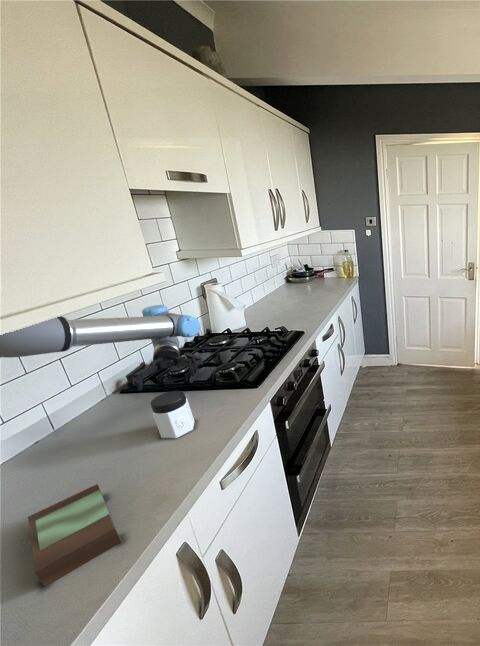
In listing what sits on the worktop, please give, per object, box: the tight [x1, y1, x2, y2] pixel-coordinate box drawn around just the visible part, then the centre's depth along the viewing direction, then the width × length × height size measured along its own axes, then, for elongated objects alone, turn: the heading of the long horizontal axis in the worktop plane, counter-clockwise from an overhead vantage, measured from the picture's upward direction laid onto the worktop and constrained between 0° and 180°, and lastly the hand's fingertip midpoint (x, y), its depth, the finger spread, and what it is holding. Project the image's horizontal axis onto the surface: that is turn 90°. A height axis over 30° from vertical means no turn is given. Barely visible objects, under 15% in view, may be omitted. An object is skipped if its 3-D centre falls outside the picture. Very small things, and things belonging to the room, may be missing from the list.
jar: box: [149, 390, 196, 439], centre depth 103 cm, size 9×8×12 cm
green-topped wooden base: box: [27, 483, 122, 588], centre depth 72 cm, size 18×11×5 cm, turn 50°
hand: (166, 379), depth 107 cm, fingers open, 13 cm apart
